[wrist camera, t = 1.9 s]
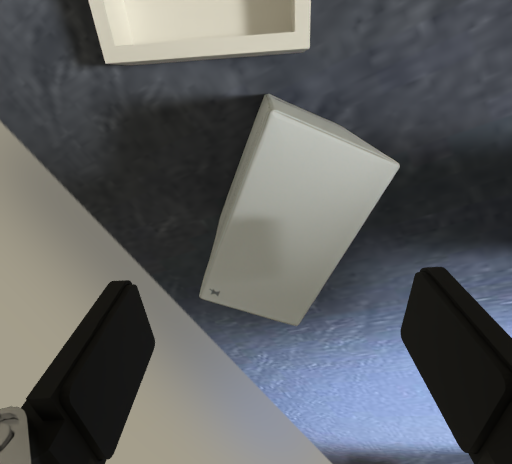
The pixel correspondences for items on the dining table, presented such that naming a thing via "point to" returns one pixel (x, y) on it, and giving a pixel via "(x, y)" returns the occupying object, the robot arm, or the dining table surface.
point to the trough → (199, 29)
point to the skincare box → (291, 211)
